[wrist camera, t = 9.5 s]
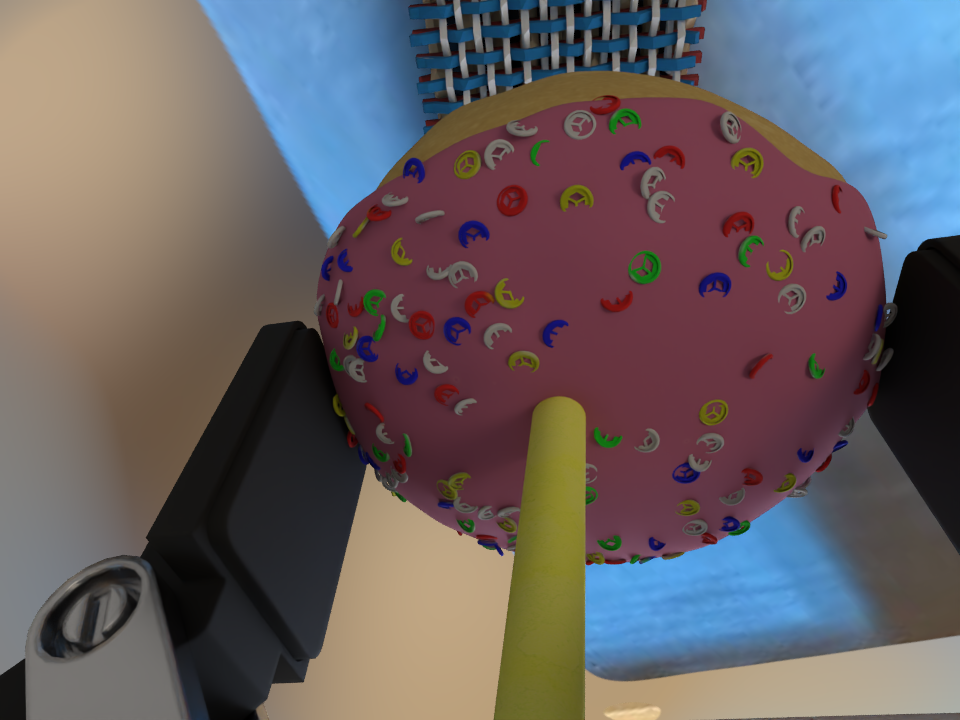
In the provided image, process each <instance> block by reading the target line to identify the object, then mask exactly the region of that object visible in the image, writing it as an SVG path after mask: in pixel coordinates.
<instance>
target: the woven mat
mask: <svg viewBox="0 0 960 720" xmlns="http://www.w3.org/2000/svg"><path fill="white" fill-rule="evenodd" d="M599 1H603V11H599ZM706 2H707V0H678V1H676V0H669V1H668V3H667V4H662V0H644V1H643V7H638V0H613V2H612V10H611V5H610V0H453V1H445V0H423V4H415V5H410V6H409V7H408V10H409V16H410V19H425V23H426V29H418V30H413V31H412V34H411V35H410V36H409V37H410V43H411V47H415V46H423V45H428V46H429V53H426V54H417V55H416V63H417V68H430V69H431V74H428V75H425V76H421V77H419V83H417V89H418V94H425V93H432V92H434V93H435V98H430V99H423V101H422V104H423V110H424V113H438V119H431V120H426V121H425V122H426V127H424V128H423V129H424V135H425V134H426V133H427V132H428V131H429V130H430V129H431V128H432V127H433V126H434V125H435V124H437V123H438V122H439V121H440V120H441V119H442V118H444V117H445V116H446V115H448V114H449V113H451V112H452V111H454V110H456V109H458V108H459V107H461V106H463V105H466V104H468V103H471V102H473V101H477V100H480V99H483V98H486V97H490V96H493V95H496V94H499V93H502V92H505V91H508V90H511V89H514V88H513V86H514V85H517V84H520V83H523V85H525V84H528V83H530V82H533V81H536V80H539V79H542V78H546V77H549V76H553V75H557V74H562V73H568V72H578V71H619V72H628V73H636V74H644V75H650V76H656V77H661V78H666V79H670V80H674V81H678V82H682V83H685V84H689V85H692V86H698V80H699V76H698V74H689V75H687V68H691V67H695V63H701V58H702V52H701V51H700V50H699V51H689V48H690V44H697V43H698V42H699V39H704V31H705V28H704V27H695V28H693V26H694V23H695V20H696V17H700V16H701V12H702V11H704V10H706ZM578 3H581V13H575V14H574V4H578ZM537 7H540V17H537ZM547 7H550V16H548V15H547ZM508 10H519V19H514V20H509V18H508ZM480 14H482V17H483V22H480ZM454 15H455V20H456V24H452V25H448V26H447V22H446V18H448V17H451V16H454ZM674 20H675V21H674ZM660 21H666V30H663V31H660ZM639 24H642V33H637V25H639ZM610 25H611V36H609V35H610ZM602 26H603V31H602V36H601V37H599V27H602ZM574 29H576V30H581V38H580V39H574ZM538 33H540V37H541V40H539V36H538ZM548 33H551V40H548ZM516 35H520V42H516V43H512V44H510V37H513V36H516ZM483 37H485V44H486V48H483V44H482V38H483ZM448 42H454V43H458V47H459V50H458V51H450V47H449V43H448ZM661 47H664V54H658V48H661ZM637 48H641V54H640V56H636V51H637ZM628 49H629V55H628ZM600 52H601V53H600ZM610 52H611V56H610V58H607V57H608V53H610ZM580 55H582V58H581V59H578V60H574V56H580ZM549 56H551V65H548V57H549ZM635 56H636V57H635ZM540 58H541V66H539V59H540ZM511 60H517V61H521V64H522V67H521V68H512V67H511ZM485 64H487V71H485ZM457 66H460V67H461V72H454V71H452V68H454V67H457ZM659 71H664V72H666V73H667V75H660V73H659ZM486 85H488V86H489V91H487V87H486ZM454 90H461V91H463V95H461V96H455V92H454Z"/></svg>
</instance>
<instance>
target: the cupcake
mask: <svg viewBox="0 0 960 720" xmlns="http://www.w3.org/2000/svg"><path fill="white" fill-rule="evenodd" d="M878 237H879V238H882V239H886V238H887V235H886V234H884V233H882V232H879V231H877V229H876V226H875V222H874V219H873V216H872V213H871V210H870V208H869V206H868V204H867V202H866V200H865V199H864V197H863V196H862V195H861V193H860V192H859V191H858V190H857V189H855V188H854V187H853V186H851V185H849V184H848V183H847V182H846V181H845V179H844V178H843V177H842V175H841V174H840V173H839V172H838V171H837V170H836V169H835V168H834V167H833V166H832V165H831V164H830V163H829V162H827V161H826V160H825V159H823V158H822V157H820V156H819V155H818V154H816V153H815V152H813V151H812V150H811V149H809V148H808V147H806V146H805V145H804V144H802V143H801V142H800V141H798V140H797V139H795V138H794V137H793V136H791V135H790V134H788V133H787V132H786V131H784V130H783V129H781V128H780V127H778V126H777V125H775V124H774V123H772V122H770V121H769V120H767V119H765V118H763V117H761V116H760V115H758V114H756V113H754V112H752V111H750V110H748V109H746V108H744V107H742V106H740V105H737V104H735V103H733V102H731V101H729V100H727V99H725V98H723V97H720V96H718V95H716V94H713V93H711V92H708V91H706V90H703V89H701V88H698V87H695V86H692V85H689V84H685V83H682V82H678V81H674V80H670V79H666V78H661V77H656V76H650V75H644V74H636V73H628V72H619V71H578V72H568V73H562V74H557V75H553V76H549V77H546V78H542V79H539V80H536V81H533V82H530V83H528V84H525V85H522V86H519V87H517V88H514V89H511V90H508V91H505V92H502V93H499V94H496V95H493V96H490V97H486V98H483V99H480V100H477V101H473V102H471V103H468V104H466V105H463V106H461V107H459V108H458V109H456V110H454V111H452V112H451V113H449V114H448V115H446V116H445V117H444V118H442V119H441V120H440V121H439V122H438V123H437V124H435V125H434V126H433V127H432V128H431V129H430V130H429V131H428V132H427V133H426V134H425V135H424V136H423V137H422V138H421V139H420V140H419V141H418V142H417V143H416V144H415V145H414V146H413V147H412V148H411V149H410V150H409V151H408V152H407V153H406V154H405V155H404V156H403V157H402V158H401V159H400V160H399V161H398V162H397V163H396V164H395V165H394V166H393V168H392V169H391V170H390V171H389V172H388V173H387V175H386V176H385V177H384V179H383V180H382V182H381V183H380V184H379V186H378V187H377V189H376V191H374V192H373V193H371V194H370V195H369V196H367V197H366V198H364V199H363V200H362V201H360V202H359V203H358V204H357V205H355V206H354V207H353V208H352V209H351V210H350V211H349V212H348V213H347V214H346V215H345V217H344V218H343V219H342V221H341V222H340V224H339V226H338V227H337V229H336V231H335V232H334V233H333V234H332V235H331V237H330V239H329V240H328V243H327V247H328V250H327V252H326V255H325V258H324V261H323V265H322V268H321V272H320V277H319V282H318V291H317V302H316V305H315V308H314V313H315V315H316V316H318V321H319V325H320V330H321V335H322V339H323V344H324V349H325V353H326V358H327V362H328V366H329V370H330V373H331V377H332V380H333V383H334V387H335V390H336V393H337V394H336V395H335V396H334V398H333V407H334V410H335V412H336V413H337V414H338V415H339V416H344V419H345V422H346V424H347V427H348V428H349V432H348V435H347V441H348V444H349V446H350V447H355V446H356V445H357V443H358V442H359V444H360V445H359V448H358V454H359V458H360V460H361V462H362V463H363V464H365V465H367V464H369V463H370V465H371V466H372V467H373V468H374V470H375V475H376V478H377V480H378V481H380V482H381V481H382V484H383V486H384V487H385V488H386V489H387V490H389V491H391V493H392V496H397V497H398V498H399V499H400V500H401V501H403V502H406V501H407V500H408V501H409V502H410V503H412V504H413V505H415V506H416V507H417V508H419V509H420V510H422V511H423V512H424V513H426V514H427V515H429V516H430V517H432V518H433V519H435V520H436V521H438V522H440V523H442V524H443V525H446V526H448V527H450V528H452V529H454V530H456V531H457V532H458V534H459V535H460V536H461V535H462V533H464V534H466V535H469V536H471V537H474V538H476V539H479V540H478V544H480V545H482V546H483V547H485V548H486V549H489V550H495V549H497V551H498V552H499V554H500V555H501V556H503V552H502V550H501V548H503V549H507V550H508V551H514V552H515V556H514V564H513V572H512V580H511V587H510V595H509V603H508V611H507V619H506V627H505V634H504V642H503V650H502V658H501V666H500V675H499V681H498V689H497V697H496V705H495V713H494V720H585V562H586V565H591V564H593V563H595V564H599V565H601V564H603V563H606V564H623V563H625V562H630V563H631V564H634V563H635V562H637V561H639V560H640V561H639V563H640V564H643V563H645V562H647V561H649V560H651V559H653V558H657V557H662V558H663V559H664V560H667V559H673V558H676V557H679V556H681V555H683V554H684V553H685V552H687V551H691V550H695V549H699V548H702V547H705V546H707V545H710V544H716V543H717V542H718V540H720V539H722V538H724V537H726V536H728V535H732V536H736V535H740V534H743V533H744V532H746V531H747V530H748V529H749V528H750V522H751V521H753V520H754V519H756V518H757V517H759V516H760V515H762V514H763V513H765V512H766V511H768V510H769V509H771V508H772V507H774V506H775V505H776V504H778V503H779V502H781V501H782V500H783V499H785V498H786V497H791V498H797V497H803V496H805V495H807V490H806V489H805V488H806V487H807V486H808V485H809V484H810V482H811V477H810V476H811V475H812V474H813V473H814V472H815V471H816V472H821V471H823V470H824V469H825V468H826V467H827V466H828V465H829V463H830V461H831V458H832V455H831V453H832V452H835V451H837V450H839V449H841V448H843V447H844V446H846V445H847V444H848V442H847V441H846V440H843V441H841V440H842V438H843V437H847V436H849V435H850V434H851V433H852V431H853V429H854V425H855V423H856V421H857V420H858V419H859V418H860V417H861V415H862V414H863V413H864V412H865V410H866V409H867V408H868V406H872V405H873V403H874V401H875V398H876V396H877V392H878V387H879V381H880V376H881V370H882V369H883V368H884V367H885V366H886V365H887V363H888V362H889V361H890V359H891V357H892V355H893V352H894V351H893V349H892V348H888V349H886V350H885V351H884V343H885V333H886V327H887V326H889V325H890V324H891V323H892V322H893V320H894V319H895V317H896V315H897V306H896V305H895V304H894V303H887V304H886V291H885V280H884V271H883V263H882V255H881V249H880V243H879V238H878ZM889 309H890V311H891V313H890V314H887V310H889ZM888 316H889V317H888ZM887 317H888V319H887ZM886 319H887V321H886ZM883 351H884V352H883ZM338 403H339V405H340V409H339V407H338V406H337V405H338ZM342 408H343V410H342ZM352 434H353V435H352ZM351 436H352V437H353V442H351ZM355 437H356V438H355ZM363 450H364V451H363ZM362 452H363V453H362ZM363 454H364V457H365V458H364V457H363ZM825 460H826V461H825ZM824 461H825V463H824ZM821 464H822V466H820V465H821ZM819 466H820V467H819ZM379 474H380V476H379ZM387 482H388V484H389V485H388V484H387ZM798 492H800V493H798ZM740 528H741V529H740ZM739 529H740V530H739Z"/></svg>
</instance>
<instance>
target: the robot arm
mask: <svg viewBox="0 0 960 720" xmlns="http://www.w3.org/2000/svg"><path fill="white" fill-rule="evenodd" d="M893 303H894V304H895V305H896V306H897V315H896V317H895V319H894V320H893V322H892V323H891V324H890V325H889V326H887V327H886V333H885V343H884V351H885V350H886V349H888V348H892V349H893V351H894V352H893V355H892V357H891V359H890V361H889V362H888V363H887V365H886V366H885V367H884V368H883V369H882V370H881V376H880V381H879V387H878V392H877V396H876V398H875V401H874V403H873V405H872V406H868V408H867V409H868V413H869V416H870V418H871V420H872V422H873V423H874V425H875V426H876V428H877V429H878V431H879V432H880V434H881V435H882V437H883V438H884V440H885V441H886V443H887V444H888V446H889V448H890V449H891V451H892V452H893V454H894V455H895V457H896V458H897V460H898V461H899V463H900V464H901V466H902V467H903V469H904V470H905V472H906V474H907V475H908V477H909V478H910V480H911V481H912V483H913V484H914V486H915V487H916V489H917V490H918V492H919V493H920V495H921V496H922V498H923V500H924V501H925V503H926V504H927V506H928V507H929V509H930V510H931V512H932V513H933V515H934V516H935V518H936V519H937V521H938V522H939V524H940V526H941V527H942V529H943V530H944V532H945V533H946V535H947V536H948V538H949V539H950V541H951V542H952V544H953V545H954V547H955V548H956V550H957V552H958V553H959V555H960V235H957V236H949V237H941V238H934V239H928V240H926V241H924V242H922V244H921V245H920V246H919V247H918V250H917V251H914V252H911V253H909V254H908V255H907V257H906V258H905V260H904V263H903V266H902V270H901V274H900V277H899V281H898V285H897V288H896V292H895V295H894V299H893ZM890 313H891V311H890ZM884 351H883V352H884ZM336 394H337V393H336V390H335V387H334V383H333V380H332V377H331V373H330V370H329V366H328V362H327V358H326V353H325V349H324V345H323V343H322V341H321V338H320V336H319V334H318V332H317V331H316V330H315V329H313V328H310V329H307V327H306V326H305V325H304V324H303V322H301V321H292V322H285V323H277V324H269V325H265V326H263V327H262V328H261V329H260V331H259V333H258V335H257V337H256V338H255V340H254V342H253V344H252V346H251V348H250V349H249V351H248V353H247V355H246V357H245V358H244V360H243V362H242V364H241V366H240V367H239V369H238V371H237V373H236V375H235V377H234V379H233V380H232V382H231V384H230V386H229V387H228V389H227V391H226V393H225V395H224V396H223V398H222V400H221V402H220V404H219V406H218V407H217V409H216V411H215V413H214V415H213V416H212V418H211V420H210V422H209V424H208V426H207V428H206V429H205V431H204V433H203V435H202V436H201V438H200V440H199V442H198V444H197V446H196V447H195V449H194V451H193V453H192V455H191V457H190V458H189V460H188V462H187V464H186V466H185V467H184V469H183V471H182V473H181V475H180V477H179V478H178V480H177V482H176V484H175V486H174V487H173V489H172V491H171V493H170V495H169V496H168V498H167V500H166V502H165V504H164V506H163V507H162V509H161V511H160V513H159V515H158V516H157V518H156V521H155V522H154V524H153V526H152V527H151V529H150V531H149V533H148V535H147V537H146V539H147V540H148V541H149V543H148V544H147V546H146V548H145V550H144V551H143V553H142V555H141V557H138V556H127V555H121V556H117V557H112V558H107V559H104V560H102V561H99V562H97V563H95V564H93V565H90V566H88V567H86V568H85V569H83V570H82V571H80V572H79V573H77V574H76V575H74V576H72V577H71V578H69V579H68V580H67V581H66V582H65V583H64V584H63V585H62V586H60V587H59V588H58V589H57V590H56V591H55V592H54V593H53V594H52V595H51V596H50V597H49V598H48V600H47V601H46V602H45V603H44V605H43V606H42V607H41V609H40V610H39V611H38V613H37V614H36V616H35V618H34V620H33V622H32V624H31V626H30V628H29V630H28V635H27V640H26V646H25V659H23V660H22V661H20V662H19V663H18V664H16V665H15V666H13V667H12V668H10V669H9V670H7V671H6V672H5V673H3V674H2V675H0V720H269V718H268V715H267V712H266V709H265V706H264V703H263V702H264V701H266V699H267V698H268V694H269V691H270V688H271V684H275V683H298V682H304V679H305V675H306V671H307V667H308V663H309V659H314V658H316V657H317V656H318V655H319V653H320V652H321V649H322V646H323V642H324V638H325V634H326V630H327V625H328V621H329V617H330V613H331V609H332V605H333V601H334V597H335V593H336V589H337V585H338V581H339V576H340V572H341V568H342V564H343V560H344V556H345V552H346V547H347V544H348V539H349V536H350V531H351V527H352V523H353V519H354V515H355V511H356V506H357V503H358V499H359V494H360V491H361V487H362V482H363V478H364V474H365V470H366V465H365V464H363V463H362V462H361V460H360V458H359V454H358V448H359V445H360V444H359V442H358V443H357V445H356V446H355V447H350V446H349V444H348V441H347V435H348V432H349V428H348V427H347V424H346V422H345V419H344V416H339V415H338V414H337V413H336V412H335V410H334V407H333V398H334V396H335V395H336ZM337 406H338V407H339V409H340V405H339V403H338V405H337ZM342 410H343V408H342ZM352 435H353V434H352ZM355 438H356V437H355ZM351 442H353V437H352V436H351ZM363 451H364V450H363ZM362 453H363V452H362ZM363 457H364V454H363ZM364 458H365V457H364ZM719 720H960V713H940V714H938V713H937V714H936V713H935V714H896V715H858V716H857V715H856V716H821V717H787V718H753V719H719Z"/></svg>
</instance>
